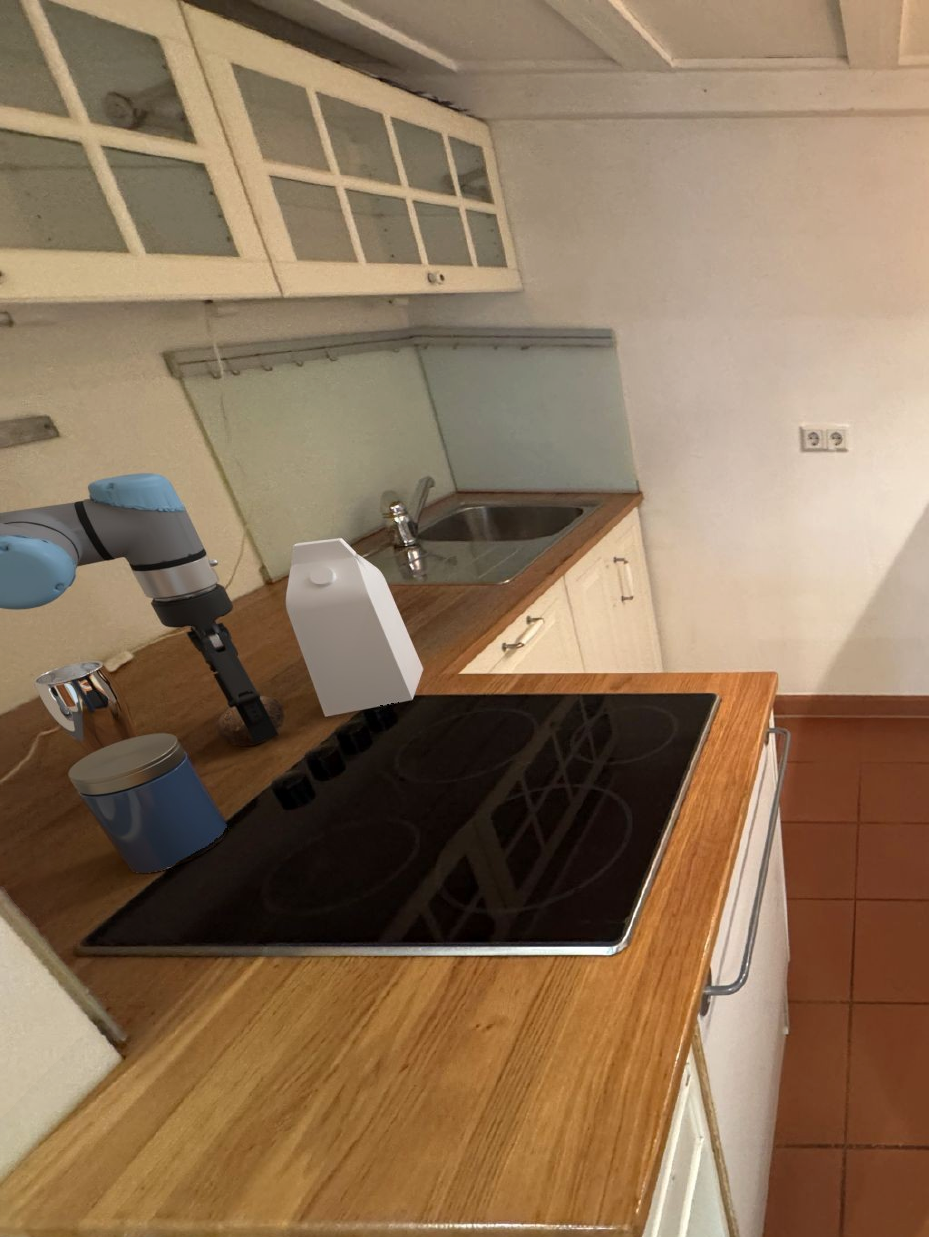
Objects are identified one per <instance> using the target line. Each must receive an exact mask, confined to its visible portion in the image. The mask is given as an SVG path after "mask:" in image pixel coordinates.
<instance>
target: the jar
mask: <svg viewBox="0 0 929 1237" xmlns="http://www.w3.org/2000/svg"><path fill="white" fill-rule="evenodd" d="M184 752H185V755H184V758H183V759H182V760H181V762H180V763H179V764H177V765H176V766H175V767H173V768H172V769H171V770H169V771H167V772H166V773H164V774H162V775H160V776H158V777H156V778H154V779H152V780H150V781H147V782H145V783H142V784H140V785H137V786H134V787H131V788H128V789H125V790H121V791H117V792H112V793H107V794H99V795H88V794H83V793H81V792H79V791H78V790H77V793H78V795H79V796H80V798H81V799H82V801H83V802H84V804H85V805H86V807H87V808H88V810H89V812H90V813H91V815H92V816H93V817H94V819H95V820H96V822H97V823H98V825H99V826H100V828H101V829H102V831H103V832H104V834H105V835H106V836H107V838H108V840H109V842H111V844H112V846H113V847H114V848H115V850H116V852H117V853H118V854H119V856H120V858H121V859H122V860H123V862H124V863H125V865H126V867H127V868H128V870H130V871H131V870H132V871H134V872H133V873H135V872H138V873H137V874H140V873H149V872H150V873H149V874H152V873H151V872H155V871H161V870H164V869H166V868H167V867H171V866H173V865H174V864H176V862H178V861H180V860H182V859H183V858H186V857H188V856H190V855H191V854H193V853H195V852H196V851H198V850H200V849H202V848H205V847H206V846H208V845H209V844H210V843H212V842H214V840H215V839H216V838H219V837H220V836H221V835H222V834H223V832H224V830H225V828H227V825H228V823H227V821H226V819H225V818H224V816H223V814H222V813H221V811H220V809H219V807H218V805H217V804H216V801H215V800H214V798H213V796H212V795H211V793H210V791H209V790H208V787H207V786H206V784H205V782H204V781H203V779H202V777H201V775H200V774H199V771H198V770H197V768H196V767H195V765H194V763H193V761H192V760H191V758H190V756H189V755H188V753H187V751H186V750H184ZM226 823H227V824H226ZM132 871H131V872H132ZM161 872H162V871H161Z"/></svg>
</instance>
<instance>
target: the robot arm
mask: <svg viewBox="0 0 929 1237" xmlns="http://www.w3.org/2000/svg"><path fill="white" fill-rule="evenodd" d="M87 490H88V494H89V495H88V497H89V498H85V499H83V500H78V501H75V502H67V503H60V504H53V505H47V506H39V507H32V508H25V509H18V510H17V509H16V510H10V511H4V512H3V511H2V512H0V609H5V610H13V611H14V610H15V611H17V610H18V611H19V610H20V611H21V610H30V609H37V608H40V607H43V606H45V605H48V604H50V603H52V602H55V601H56V600H57V599H58V598H60V597H61V596H62V595H63V594H64V593H65V592H66V591H67V589H68V588H70V587H71V586H72V585H73V583H74V582H75V580H76V577H77V568H78V567H82V566H87V565H91V564H92V565H93V564H97V563H101V562H106V561H107V562H108V561H114V560H116V559H121V558H125V560H126V561H127V563H128V565H129V567H130V570H131V572H132V573H133V575H134V577H135V578H136V580H137V583H138V585H139V586H140V588H141V590H142V592H143V594H144V595H145V597H147V598H149V599H152V600H151V602H150V605H151V607H152V608H153V611H154V612H155V614H156V616H157V618H158V619H159V621H160V623H161V624H162V625H163V626H164V627H167V628H172V629H173V628H176V629H178V628H179V629H180V628H185V627H188V628H189V629H190V630H189V631H186V635H187V637H188V639H189V640H190V643H192V644H193V646H194V648H195V649H196V650H197V651H198V652H199V653H201V655H202V657H203V658H204V659H203V660H204V662H205V664H207V665H208V666H209V669H210V672H213V677H214V678H215V680H216V682H217V684H218V686H219V688H220V689H221V692H222V694H223V696H224V697H225V699H226V701H227V702H226V703H227V705H228V707H229V708H231V707H234V706H235V707H236V709H237V711H238V712H239V714H240V716H241V718H242V720H243V722H244V724H245V726H246V727H247V729H248V731H249V733H250V735H251V737H252V739H253V741H254V742H255V745H257V743H258V744H260V743H259V742H261V743H263V742H262V741H264V742H266V741H268V740H269V739H272V738H275V737H278V736H279V732H278V731H276V729H275V727H274V725H273V723H272V721H271V719H270V717H269V715H268V713H267V711H266V709H265V707H264V705H263V703H262V701H261V699H260V696H261V694H260V692H259V691H258V690H257V689H256V687H255V685H254V684H253V682H252V680H251V678H250V676H249V675H248V672H247V671H246V669H245V667H244V666H243V664H242V662H241V660H240V658H239V652H238V650H237V647H236V646H235V644H234V642H233V641H232V640H233V638H232V635H231V632H230V631H229V629H228V627H227V626H225V624H224V623H223V622H218V623H217V622H216V621H217V620H218V619H220V618H221V617H224V616H227V615H228V614H230V613H231V612H232V611H233V609H234V604H233V602H232V600H231V599H230V597H229V594H228V592H227V590H226V588H225V586H224V585H221V584H219V582H220V578H219V575H218V573H217V571H216V569H214V568H213V567H217V566H218V565H219V562H218V560H216V558H211V559H210V558H209V556H208V554H207V551H206V549H205V547H204V545H203V542H202V540H201V538H200V536H199V534H198V532H197V530H196V527H195V525H194V523H193V521H192V519H191V517H190V515H189V513H188V510H187V509H186V507H185V504H183V502H182V500H181V498H180V496H179V495H178V493H177V491H176V490H175V488H174V486H173V485H172V483H171V481H170V480H169V479H168V478H166V476H164V475H161V474H158V473H153V472H152V473H151V472H142V473H131V474H123V475H117V476H113V477H106V478H101V479H98V480H95V481H92V482H90V483H88V485H87ZM267 739H268V740H267ZM265 740H266V741H265Z"/></svg>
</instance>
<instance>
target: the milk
mask: <svg viewBox="0 0 929 1237" xmlns="http://www.w3.org/2000/svg"><path fill="white" fill-rule="evenodd" d="M290 564H291V565H290V569H289V575H288V580H287V588H286V594H285V608H286V609H285V610H286V612H287V615H288V618H289V621H290V625H291V626H292V630H293V632H294V635H295V638H296V640H297V644H298V646H299V649H300V651H301V655H302V657H303V659H304V662H305V665H306V668H307V672H308V673H309V676H310V679H311V682H312V685H313V687H314V688H313V689H314V691H315V693H316V696H317V698H318V702H319V705H320V707H321V709H322V713H323V715H324V717H325V718H326V717H333V716H336V715H342V714H347V713H352V712H357V711H363V710H368V709H372V708H378V707H381V706H380V705H383V706H388V705H387V704H389V705H392V704H391V703H394V704H399V703H403V702H408V701H409V702H410V701H413V700H414V697H415V695H416V692H417V689H418V687H419V683H420V680H421V677H422V674H423V671H424V666H423V664H422V662H421V660H420V658H419V656H418V653H417V651H416V648H415V646H414V644H413V641H412V639H411V637H410V634H409V631H408V630H407V627H406V625H405V623H404V620H403V618H402V615H401V613H400V611H399V608H398V606H397V603H396V602H395V599H394V597H393V594H392V592H391V589H390V588H389V585H388V583H387V579H386V578H385V576H384V574H383V573H382V571H381V570H380V569H379V568H378V567H377V566H375V565H374V564H372V563H371V562H370V561H368V560H367V559H366V558H364V557H362V556H361V555H359V554H358V553H357V552H356V551H355V550H354V549H353V548H352V547H351V545H350V544H349V543H347V542H346V541H345V540H344V539H343V538H342V537H338V538H331V539H329V538H328V539H322V540H321V539H320V540H314V541H313V540H312V541H305V542H297V543H295V544H293V546H292V553H291V563H290ZM398 702H399V703H398Z"/></svg>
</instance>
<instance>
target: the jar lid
mask: <svg viewBox="0 0 929 1237" xmlns="http://www.w3.org/2000/svg"><path fill="white" fill-rule="evenodd" d="M184 751H185V749H184V747H183V746H182V744H181V743H180V740H179V739H178V737H177V736H176V735H174V734H172V733H165V732H163V733H160V732H159V733H150V734H144V735H143V734H142V735H138V737H134V738H130V739H127V740H124V741H120V742H117V743H115V744H112V745H109V746H107V747H104V748H102V749H100V750H98V751H95V752H93V753H91V754H90V755H88V754H87V755H86V756H84V757H82V758H81V759H80V760H78V761H77V762H76V763H74V764H73V765H72V766H71V767H70V769H69V770H68V772H67V774H68V777H69V781H70V782H71V783H72V785H73V786H74V788H75V789H76V790H77V792H78V791H79V792H81V793H83V794H88V795H99V794H107V793H112V792H117V791H121V790H125V789H128V788H131V787H134V786H137V785H140V784H142V783H145V782H147V781H150V780H152V779H154V778H156V777H158V776H160V775H162V774H164V773H166V772H167V771H169V770H171V769H172V768H173V767H175V766H176V765H177V764H179V763H180V762H181V760H182V759H183V758H184V755H185V752H186V751H185V752H184Z"/></svg>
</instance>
